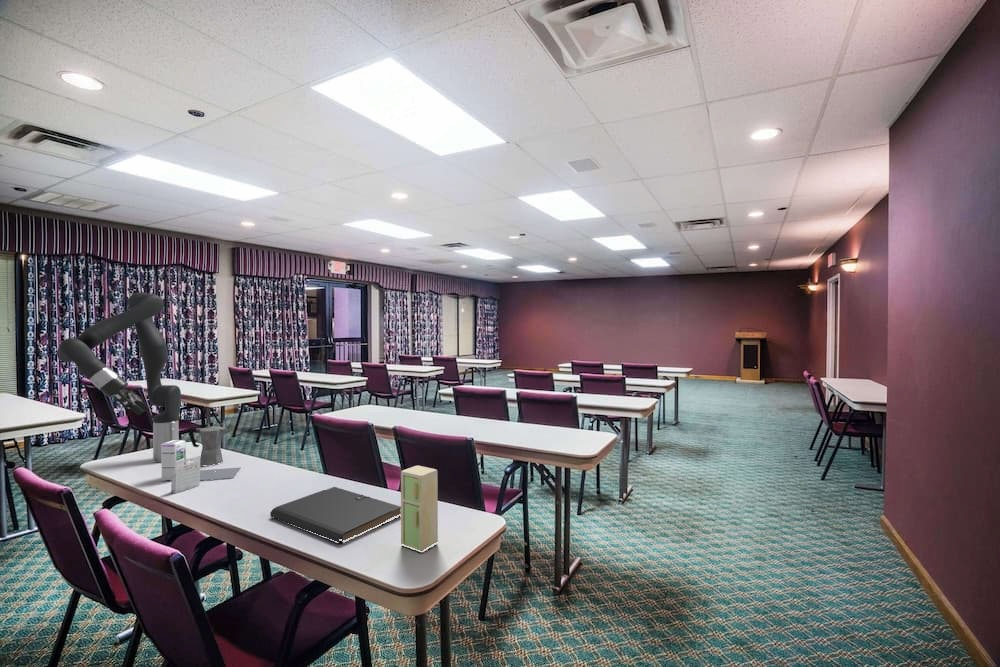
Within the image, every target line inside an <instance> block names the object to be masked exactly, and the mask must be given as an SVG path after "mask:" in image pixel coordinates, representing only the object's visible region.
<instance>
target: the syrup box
mask: <svg viewBox="0 0 1000 667" xmlns="http://www.w3.org/2000/svg"><path fill="white" fill-rule="evenodd" d="M186 446H187V445H186V440H183V439H179V440H172V441H169V442H166V443H163V444H161V461H162V462H161V481H165V480H172V479H173V476H174V475H175V474H176V468H177V465H176V463H177V462H178V461H182V460H186V458H187V457H186V455H187V454H186V449H187V448H186ZM184 464H187V462H185V463H184Z"/></svg>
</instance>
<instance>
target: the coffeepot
mask: <svg viewBox="0 0 1000 667" xmlns="http://www.w3.org/2000/svg"><path fill="white" fill-rule="evenodd" d="M227 431H229V429H228V428H226V427H222V426H215V425H214V422H213V421H210V422H209V426H206V427H204V428H203V427H193V428H191V430H189V432H188V436H189V438H190V441H191V443H192V446H193V448H199V447H200V444H197V441H196V439H195V434H196V433H197V434H198V433H199V436H200V441H201V446H202V447H201V448H202V449H201V452H200V465H213V464H218V463H221V462H222V463H223V462H224V459H223V454H222V449H221V448H222V447H221V444H222V440H223V437H224V435H225V434H226V433H227ZM194 433H195V434H194ZM222 463H221V464H222ZM218 465H219V464H218ZM213 466H214V465H213Z"/></svg>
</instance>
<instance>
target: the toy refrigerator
mask: <svg viewBox="0 0 1000 667" xmlns="http://www.w3.org/2000/svg"><path fill="white" fill-rule="evenodd" d="M438 473H439V472H438V469H435V468H432V467H427V466H424V465H422V466H421V465H414V466H411V467H408V468H406V469H403V470H401V471H400V506H401V511H400V512H401V517H400V542H401V543H400V545H401V544H404V545H406V546H409V547H412V548H415V549H417V550H420V551H423V550H424V549H426V548H427V547H429V546H431V545H432V544H434V543H436V542H439V540H438V539H439V534H438V532H439V530H438V529H439V526H438V525H439V524H438V523H439V518H438V517H439V516H438V515H439V514H438V510H439V509H438V508H439V506H438V505H439V504H438V499H439V497H438V494H439V492H438V484H439V483H438V482H439V481H438V478H439V477H438Z"/></svg>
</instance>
